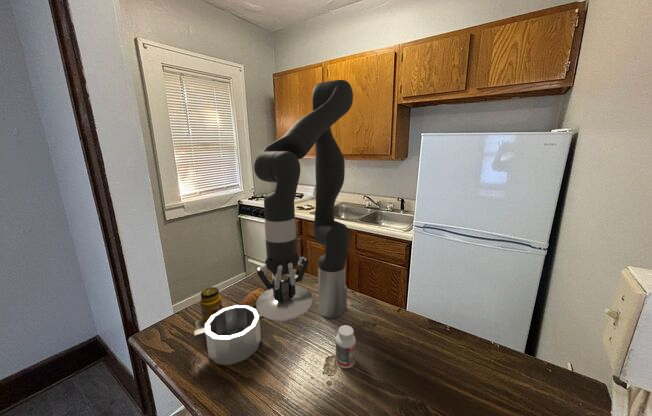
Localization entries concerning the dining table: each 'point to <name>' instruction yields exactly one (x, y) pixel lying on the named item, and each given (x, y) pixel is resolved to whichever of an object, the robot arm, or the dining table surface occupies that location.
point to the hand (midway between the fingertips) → (284, 298)
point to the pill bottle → (345, 347)
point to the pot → (232, 334)
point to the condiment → (209, 305)
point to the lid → (284, 303)
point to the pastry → (252, 297)
